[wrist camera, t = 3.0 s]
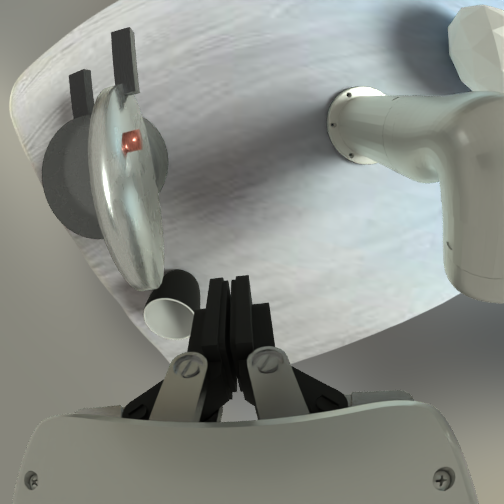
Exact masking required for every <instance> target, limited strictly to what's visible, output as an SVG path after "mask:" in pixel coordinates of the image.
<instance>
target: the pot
mask: <svg viewBox="0 0 504 504" xmlns="http://www.w3.org/2000/svg"><path fill="white" fill-rule="evenodd" d="M69 83H70V93H71V102H72V110H73V117H74V119H73V120H71V121H70V122H68V123H67V124H65V125H64V126H63V127H62V128H60V129H59V130H58V132H57V133H56V134H55V135H54V137H53V138H52V140H51V141H50V143H49V145H48V147H47V150H46V153H45V156H44V160H43V167H42V182H43V188H44V193H45V196H46V199H47V201H48V203H49V206H50V208H51V209H52V211H53V213H54V214H55V215H56V217H57V218H58V219H59V220H60V221H61V223H62V224H64V225H65V226H66V227H67V228H68V229H70V230H71V231H73V232H74V233H76V234H78V235H81V236H84V237H87V238H91V239H104V237H103V234H102V231H101V228H100V225H99V222H98V218H97V214H96V210H95V206H94V201H93V196H92V190H91V184H90V175H89V165H88V137H89V126H90V119H91V115H92V111H93V107H94V99H93V91H92V81H91V70H85V69H83V70H80V71H78V72H76V73H73V74H71V75H69ZM142 118H143V117H142ZM143 121H144V125H145V128H146V132H147V136H148V141H149V145H150V146H151V148H152V154H153V160H154V165H155V171H156V176H157V181H158V187H157V188H158V194H159V192H160V190H161V189H162V187H163V185H164V182H165V179H166V176H167V170H168V155H167V150H166V146H165V143H164V140H163V138H162V137H161V135H160V133H159V132H158V130H157V129H156V128H155V127H154V126H153V125H152V123H150V122H149V121H148V120H147V119H145V118H143Z"/></svg>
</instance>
